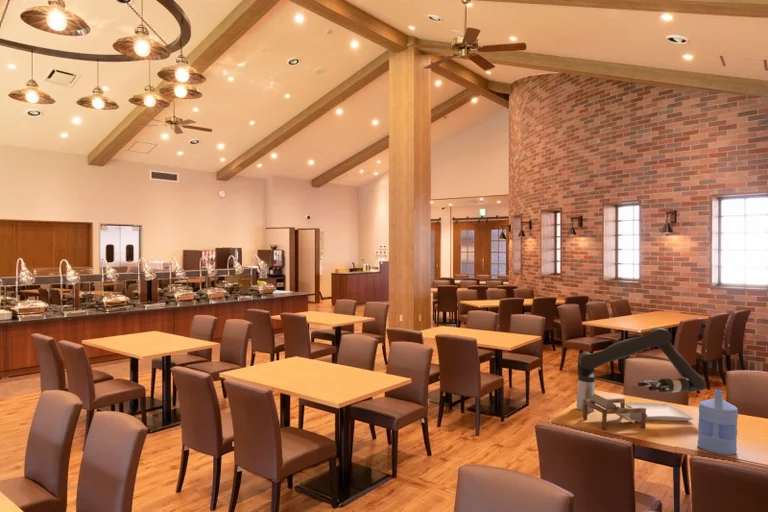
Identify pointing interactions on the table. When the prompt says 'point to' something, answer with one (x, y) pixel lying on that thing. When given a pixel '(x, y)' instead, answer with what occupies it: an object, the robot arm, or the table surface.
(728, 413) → the water jug
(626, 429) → the table surface
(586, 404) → the frame
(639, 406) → the square plate
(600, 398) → the trapdoor
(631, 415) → the granite block
